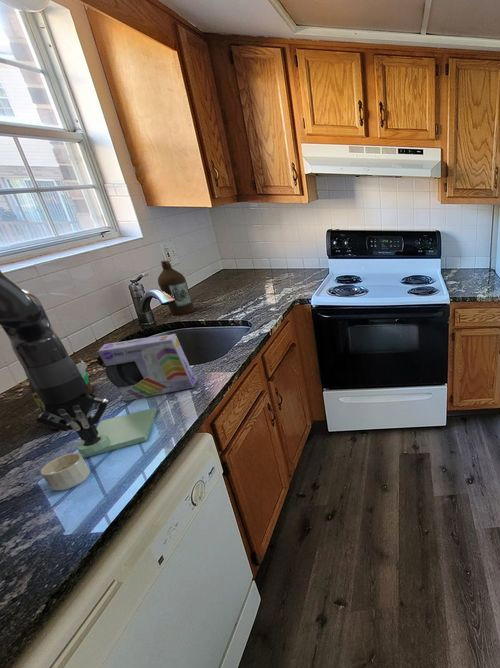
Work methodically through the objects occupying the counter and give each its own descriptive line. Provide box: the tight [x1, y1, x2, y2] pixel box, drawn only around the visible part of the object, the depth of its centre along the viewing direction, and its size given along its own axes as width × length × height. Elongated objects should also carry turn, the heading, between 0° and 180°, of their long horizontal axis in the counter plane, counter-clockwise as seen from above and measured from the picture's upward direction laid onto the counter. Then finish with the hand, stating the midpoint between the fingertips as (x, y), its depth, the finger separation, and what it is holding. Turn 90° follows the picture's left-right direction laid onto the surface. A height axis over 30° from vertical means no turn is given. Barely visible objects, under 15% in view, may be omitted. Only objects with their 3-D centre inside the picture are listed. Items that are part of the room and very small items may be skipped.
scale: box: [76, 407, 157, 458], centre depth 94 cm, size 13×15×3 cm
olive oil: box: [157, 259, 195, 316], centre depth 172 cm, size 11×11×25 cm
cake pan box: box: [97, 333, 197, 402], centre depth 109 cm, size 19×5×18 cm, turn 109°
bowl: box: [39, 452, 92, 491], centre depth 80 cm, size 6×6×5 cm
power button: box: [84, 436, 100, 446], centre depth 88 cm, size 3×3×2 cm
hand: (91, 439), depth 88 cm, fingers closed
